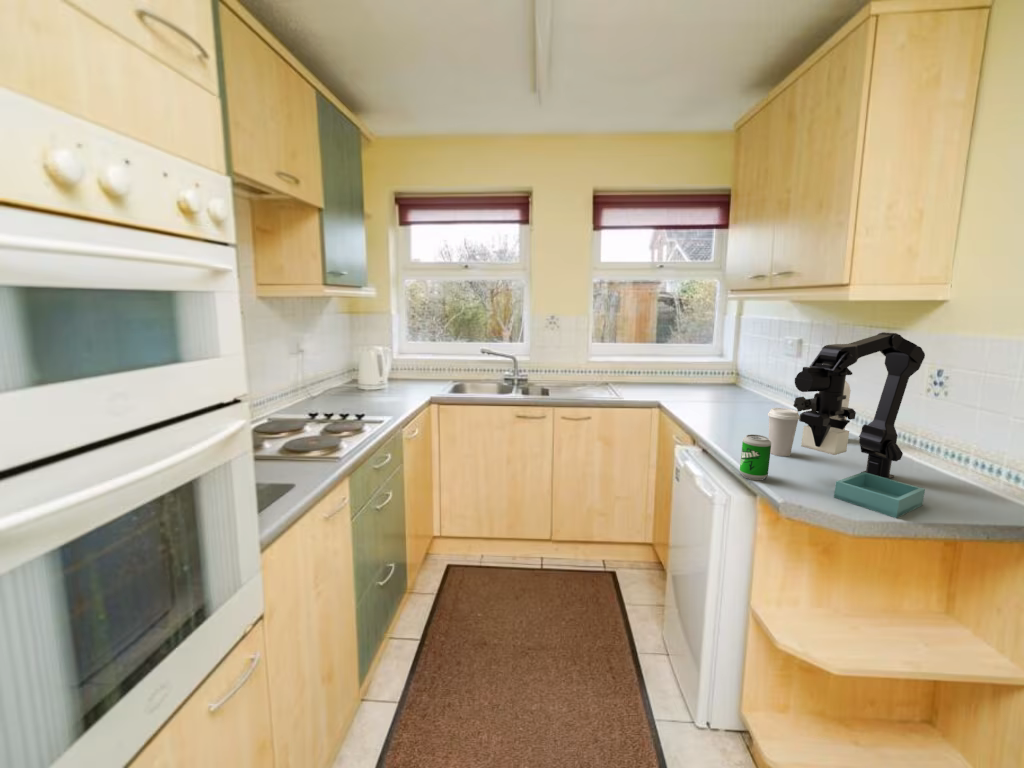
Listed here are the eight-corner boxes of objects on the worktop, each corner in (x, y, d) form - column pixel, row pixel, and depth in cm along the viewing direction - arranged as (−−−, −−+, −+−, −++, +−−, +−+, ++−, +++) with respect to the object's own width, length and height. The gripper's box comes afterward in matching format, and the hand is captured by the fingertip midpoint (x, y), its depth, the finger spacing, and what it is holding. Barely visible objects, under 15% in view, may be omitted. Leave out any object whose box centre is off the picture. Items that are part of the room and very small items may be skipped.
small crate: (812, 443, 144) (815, 423, 143) (846, 451, 137) (849, 430, 136) (801, 446, 141) (803, 426, 140) (834, 455, 133) (837, 433, 132)
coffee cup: (767, 456, 163) (772, 412, 160) (760, 448, 172) (765, 406, 169) (799, 459, 161) (805, 414, 158) (790, 450, 170) (795, 408, 167)
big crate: (861, 487, 137) (863, 471, 136) (922, 505, 125) (925, 488, 125) (833, 497, 129) (836, 481, 129) (896, 518, 118) (899, 500, 117)
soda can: (758, 472, 148) (763, 433, 146) (772, 481, 140) (777, 441, 138) (734, 471, 147) (738, 433, 145) (746, 481, 140) (751, 440, 138)
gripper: (818, 383, 147) (812, 433, 150) (783, 388, 138) (777, 441, 141) (860, 390, 138) (852, 443, 141) (825, 395, 128) (817, 452, 131)
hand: (823, 444), depth 139 cm, fingers closed on small crate, 6 cm apart
